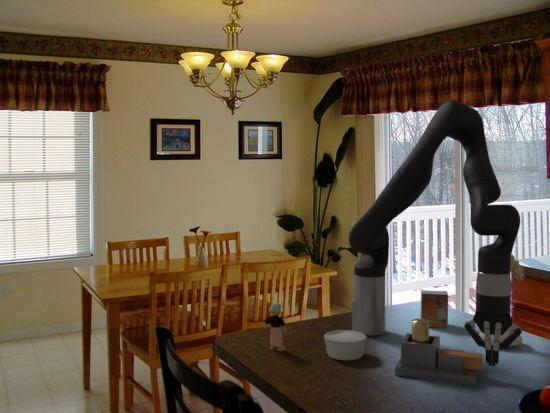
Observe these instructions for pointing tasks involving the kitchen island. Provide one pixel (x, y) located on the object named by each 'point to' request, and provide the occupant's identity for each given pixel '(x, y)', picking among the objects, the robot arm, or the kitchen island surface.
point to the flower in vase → (518, 275)
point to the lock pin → (467, 359)
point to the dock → (432, 363)
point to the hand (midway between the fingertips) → (491, 364)
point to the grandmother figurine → (276, 327)
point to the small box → (435, 308)
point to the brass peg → (420, 331)
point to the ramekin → (345, 344)
